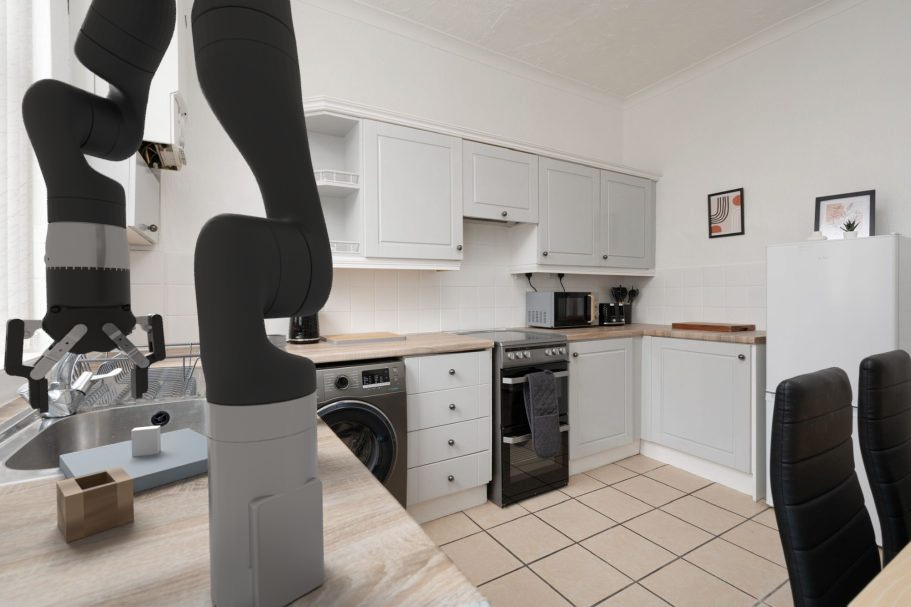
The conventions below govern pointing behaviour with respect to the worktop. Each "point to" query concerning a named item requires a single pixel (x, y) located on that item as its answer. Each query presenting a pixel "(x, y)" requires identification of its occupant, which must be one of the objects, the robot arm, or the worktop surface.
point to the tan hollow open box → (94, 503)
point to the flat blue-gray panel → (144, 457)
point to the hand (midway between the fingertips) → (93, 404)
